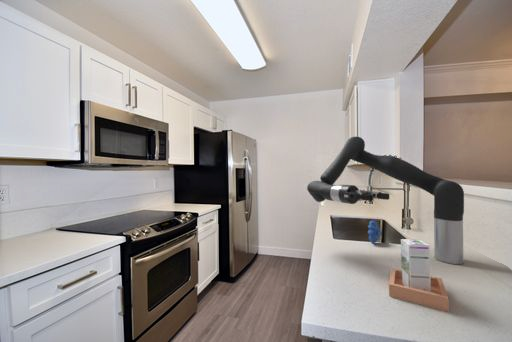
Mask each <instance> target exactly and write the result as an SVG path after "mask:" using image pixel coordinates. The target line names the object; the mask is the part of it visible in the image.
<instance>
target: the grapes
mask: <svg viewBox="0 0 512 342" xmlns="http://www.w3.org/2000/svg"><path fill="white" fill-rule="evenodd" d="M368 224H369V225H367V227H368V231H367V234H368V235H369V236H368V239H369V241H370V243H372V244H375V243H377V241H378V240H379V238H378V237H379V236H382V234H383V231H382V230H380V228H379V227H378V225H379V224H378V223H377V221H375V220H370V221H369V223H368Z"/></svg>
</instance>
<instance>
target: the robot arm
mask: <svg viewBox="0 0 512 342" xmlns="http://www.w3.org/2000/svg"><path fill="white" fill-rule="evenodd" d="M365 147H366V143H365V140H364V138H362V137H361V136H351V137H350V138H348V139H347V140H346V142H345V144H344V146H343V147H342V149H341V150H340V152H339V154H338V155H337V156H336V157H335V159H334V160H333V161H332V162H331V164H330V165H329V166H328V167H327V168H326V170H324V172H323V173H322V174H321V175H320V180H313V181H311V182H308V184H307V186H306V189H307V191H308V193H309V195H310V196H311V197H312V198H313V199H314V200H315V202H318V203H322V202H324V201H325V200H327V201H331V202H338V203H341V204H342V203H343V204H348V205H354V204H356V203H358V202H361V201H368V202H374V200H386V201H389V200H390V194H389V193H386V192H385V193H384V192H381V191H373V190H365V189H359V188H358V186H357V185H353V184H335V183H336V181H337V180H338V179H339V178H341V176H342V174H343V172H344V170H345V168H346V167H347V165H348V164H349V162H350V161H354V162H357V163H360V164H362V165H365V166H368V167H370V168H372V169H374V170H376V171H378V172H381V173H383V174H384V175H385V176H388V177H391V178H392V179H394V180H398V181H400V182H402V183H405V184H408V185H411V186H414V187H417V188H419V189H422V190H423V191H425V192H426V193H429V194H430V195H432V196H433V198H434V199H433V200H434V201H433V203H434V204H433V205H434V206H433V207H434V208H433V232H434V233H433V234H434V235H433V238H434V239H433V240H434V242H433V243H434V244H433V245H434V249H433V250H434V252H433V253H434V255H433V256H434V259H435V258H436V259H435V260H437V261H440V262H442V263H446V264H452V265H453V264H454V265H463V264H464V213H465V194H464V192H465V191H464V189H463V186H462V185H461V184H459V183H458V182H455V181H454V180H448V179H444V178H441V177H439V176H436V175H433V174H430V173H428V172H426V171H424V170H423V169H422V168H419V167H417V166H415V165H414V164H412V163H410V162H408V161H407V160H403V159H402V158H399V157H396V156H392V155H379V154H373V153H371V152H369V151H366V150H365Z"/></svg>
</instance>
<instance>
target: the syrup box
mask: <svg viewBox="0 0 512 342" xmlns="http://www.w3.org/2000/svg"><path fill="white" fill-rule="evenodd" d="M430 249H431V247H430V244H428V243H426V242H424V241H422V240H421V239H414V238H404V239H403V238H401V239H400V251H401V252H400V255H401V257H400V258H401V259H400V264H401V267H400V270H402V284H403V286H407V287H411V288H415V289H419V290H424V291H428V292H431V279H430V276H431V255H430V254H431V253H430V252H431V251H430Z"/></svg>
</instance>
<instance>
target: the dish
mask: <svg viewBox="0 0 512 342" xmlns="http://www.w3.org/2000/svg"><path fill="white" fill-rule="evenodd" d="M430 279H431V292H428V291H424V290H419V289H415V288H411V287H407V286H403V284H402V270H401V269H397V268H391V270H390V277H389V283H388V296H389V297H392V298H396V299H399V300H403V301H407V302H410V303H413V304H414V303H415V304H419V305H421V304H422V305H421V306H425V305H426V306H425V307H430V308H433V309H438V310H441V311H444V312H448V313H449V312H450V311H449V297H448V296H449V295H448V293H447V289H446V287H445V284H444V281H443V278H442V277H441V278H440V277H437V276H431V275H430Z"/></svg>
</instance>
